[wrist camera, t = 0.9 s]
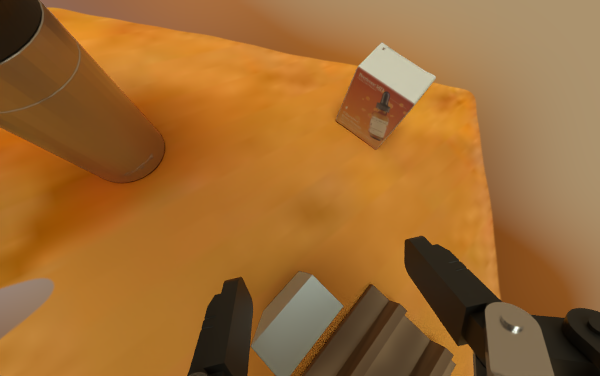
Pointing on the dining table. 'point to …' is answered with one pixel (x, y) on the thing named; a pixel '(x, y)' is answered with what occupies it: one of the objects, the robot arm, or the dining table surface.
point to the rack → (380, 344)
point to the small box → (382, 95)
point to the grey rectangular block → (294, 323)
